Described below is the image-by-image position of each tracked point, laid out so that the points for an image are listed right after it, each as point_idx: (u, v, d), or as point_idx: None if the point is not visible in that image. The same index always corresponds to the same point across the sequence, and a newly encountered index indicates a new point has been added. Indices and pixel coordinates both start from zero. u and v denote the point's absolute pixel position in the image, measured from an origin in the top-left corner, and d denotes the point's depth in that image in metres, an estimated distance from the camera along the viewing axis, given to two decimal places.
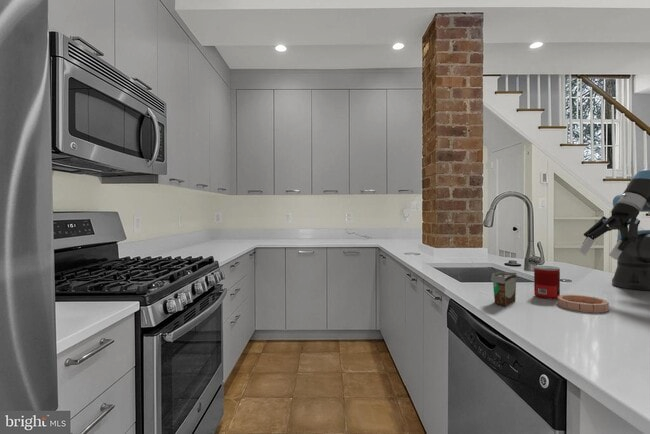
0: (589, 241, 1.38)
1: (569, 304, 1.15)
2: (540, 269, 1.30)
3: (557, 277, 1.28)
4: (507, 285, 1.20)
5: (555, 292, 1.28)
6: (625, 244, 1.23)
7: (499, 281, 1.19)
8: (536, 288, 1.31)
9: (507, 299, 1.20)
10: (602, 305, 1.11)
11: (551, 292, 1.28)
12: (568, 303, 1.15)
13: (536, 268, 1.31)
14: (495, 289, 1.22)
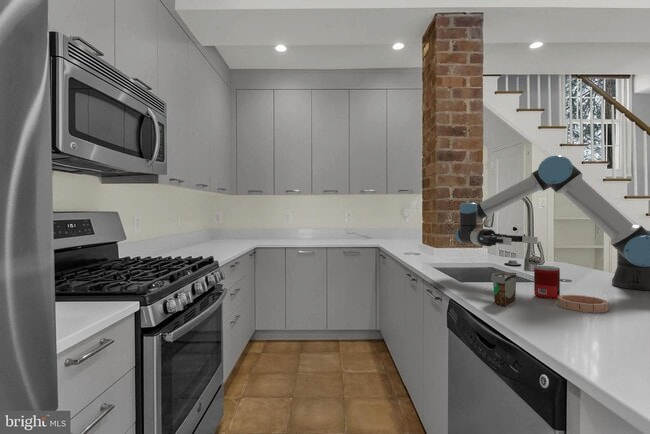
0: (525, 240, 1.47)
1: (569, 304, 1.15)
2: (540, 269, 1.30)
3: (557, 277, 1.28)
4: (507, 285, 1.20)
5: (555, 292, 1.28)
6: (496, 240, 1.43)
7: (499, 281, 1.19)
8: (536, 288, 1.31)
9: (507, 299, 1.20)
10: (602, 305, 1.11)
11: (551, 292, 1.28)
12: (568, 303, 1.15)
13: (536, 268, 1.31)
14: (495, 289, 1.22)
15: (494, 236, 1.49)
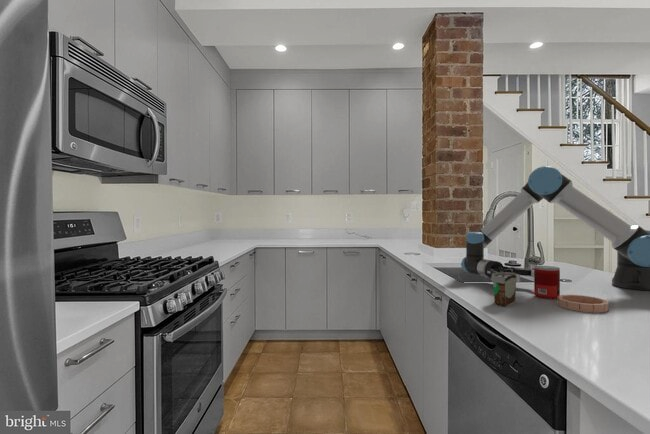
0: None
1: (569, 304, 1.15)
2: (540, 269, 1.30)
3: (557, 277, 1.28)
4: (507, 285, 1.20)
5: (555, 292, 1.28)
6: None
7: (499, 281, 1.19)
8: (536, 288, 1.31)
9: (507, 299, 1.20)
10: (602, 305, 1.11)
11: (551, 292, 1.28)
12: (568, 303, 1.15)
13: (536, 268, 1.31)
14: (495, 289, 1.22)
15: (502, 270, 1.45)
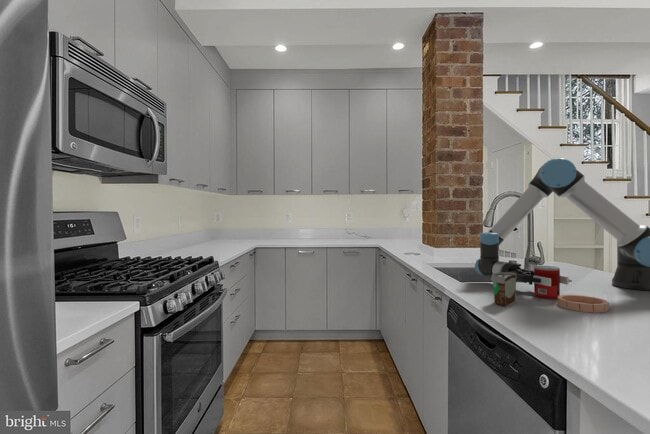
0: None
1: (569, 304, 1.15)
2: (540, 269, 1.30)
3: (557, 277, 1.28)
4: (507, 285, 1.20)
5: (555, 292, 1.28)
6: (533, 279, 1.30)
7: (499, 281, 1.19)
8: (536, 288, 1.31)
9: (507, 299, 1.20)
10: (602, 305, 1.11)
11: (551, 292, 1.28)
12: (568, 303, 1.15)
13: (536, 268, 1.31)
14: (495, 289, 1.22)
15: (525, 273, 1.37)
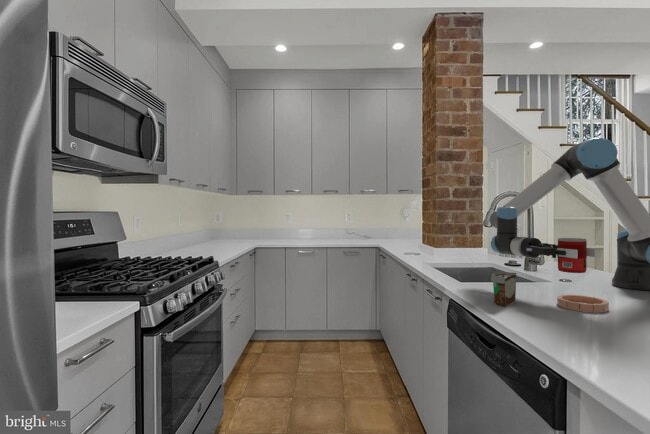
0: None
1: (569, 304, 1.15)
2: (565, 240, 1.19)
3: (584, 249, 1.17)
4: (507, 285, 1.20)
5: (581, 265, 1.17)
6: (557, 252, 1.19)
7: (499, 281, 1.19)
8: (560, 262, 1.20)
9: (507, 299, 1.20)
10: (602, 305, 1.11)
11: (577, 265, 1.17)
12: (568, 303, 1.15)
13: (560, 240, 1.20)
14: (495, 289, 1.22)
15: None
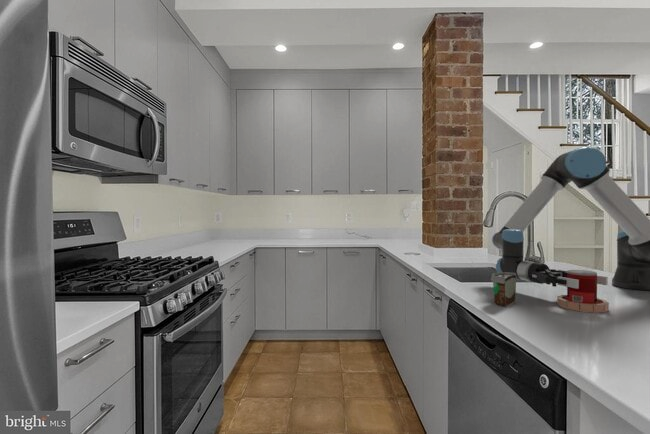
0: None
1: (569, 304, 1.15)
2: (575, 274, 1.16)
3: (594, 283, 1.14)
4: (507, 285, 1.20)
5: (592, 300, 1.14)
6: (557, 281, 1.17)
7: (499, 281, 1.19)
8: (570, 295, 1.18)
9: (507, 299, 1.20)
10: (602, 305, 1.11)
11: (587, 300, 1.14)
12: (568, 303, 1.15)
13: (570, 273, 1.18)
14: (495, 289, 1.22)
15: (551, 274, 1.23)
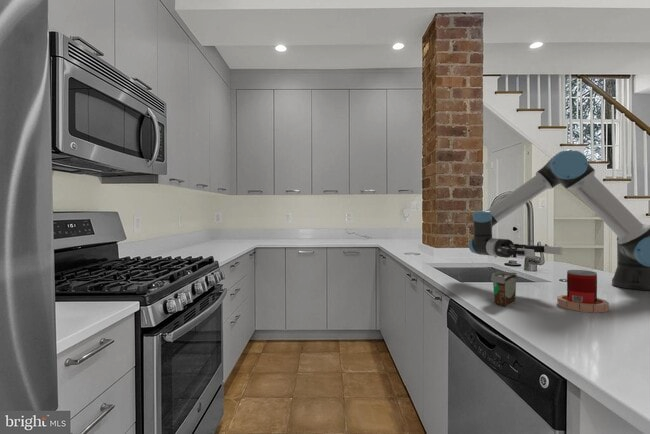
0: (547, 250, 1.36)
1: (569, 304, 1.15)
2: (575, 274, 1.16)
3: (594, 283, 1.14)
4: (507, 285, 1.20)
5: (592, 300, 1.14)
6: (517, 252, 1.32)
7: (499, 281, 1.19)
8: (570, 295, 1.18)
9: (507, 299, 1.20)
10: (602, 305, 1.11)
11: (587, 300, 1.14)
12: (568, 303, 1.15)
13: (570, 273, 1.18)
14: (495, 289, 1.22)
15: (513, 247, 1.38)
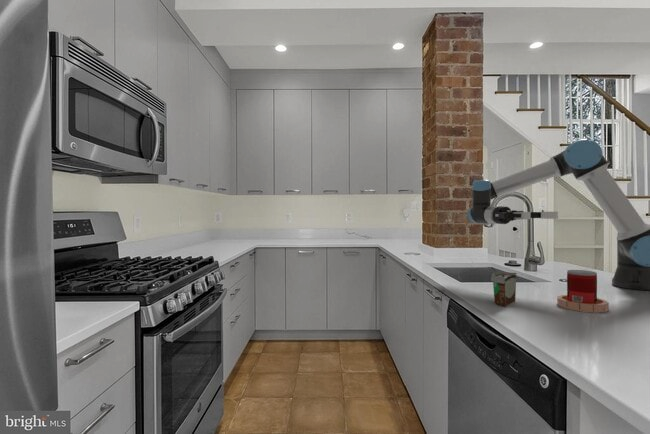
0: (543, 215, 1.39)
1: (569, 304, 1.15)
2: (575, 274, 1.16)
3: (594, 283, 1.14)
4: (507, 285, 1.20)
5: (592, 300, 1.14)
6: (513, 215, 1.34)
7: (499, 281, 1.19)
8: (570, 295, 1.18)
9: (507, 299, 1.20)
10: (602, 305, 1.11)
11: (587, 300, 1.14)
12: (568, 303, 1.15)
13: (570, 273, 1.18)
14: (495, 289, 1.22)
15: None
